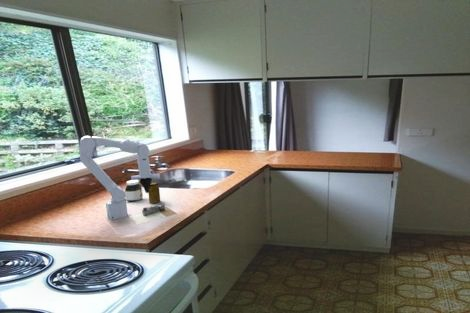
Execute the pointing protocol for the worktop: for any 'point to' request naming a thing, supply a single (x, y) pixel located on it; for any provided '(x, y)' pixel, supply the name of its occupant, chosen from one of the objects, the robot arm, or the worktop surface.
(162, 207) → the latch bar
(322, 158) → the worktop surface
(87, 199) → the worktop surface
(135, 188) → the spread jar
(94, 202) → the worktop surface
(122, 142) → the robot arm
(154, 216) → the door board
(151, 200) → the condiment
